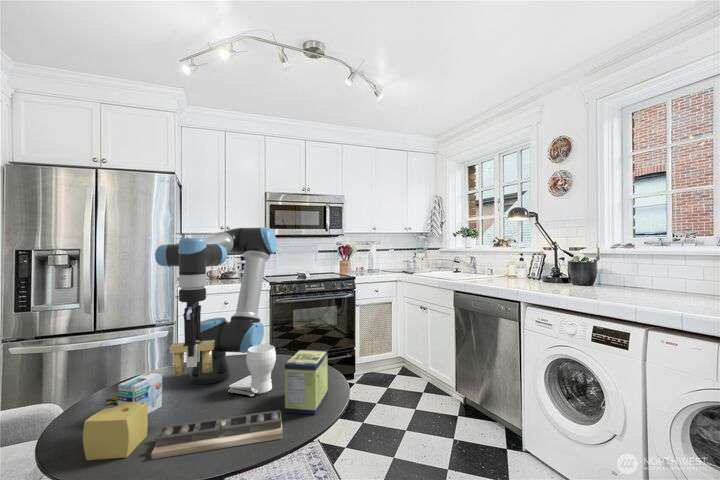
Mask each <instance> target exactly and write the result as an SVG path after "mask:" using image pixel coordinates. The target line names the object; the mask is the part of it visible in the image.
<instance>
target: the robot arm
mask: <svg viewBox="0 0 720 480" xmlns="http://www.w3.org/2000/svg"><path fill="white" fill-rule="evenodd" d="M277 247H278V246H277V237H276V235H275V232H274V231H273V229H271V228H270V227H262V226H261V227H237V228H232V229H228V230H224V231H220V232H217V233H216V234H215V235H212V236H209V237H208V236H207V237H184V238H183V237H182V238H180V239H179V241H178V243H173V244H171V243H170V244H169V243H167V244H161V245H159V246H157V248H156V249H155V251H154V257H155V258H154V259H155V262H156V263H157V265H158V266H161V267H168V268H170V267H178V277H177V278H176V281H178V287H179V288H180V289H179V290H178V302H180V303H186V305H185V308H184V312H183V314H182V315H183V323H184V326H183V327H184V329H183V330H184V332H183V333H184V342H185V343H184V342H183V343H184V344H183V346H186V352H185V354H186V356H185V357H186V361H185V362H186V363H185V364H186V368H191V370H190V373H189V382H190V383H191V384H195V385H210V384H215V383H219V382H221V381H224V380H226V379H228V378H229V377H230V376H231V367H230V363H229V361H228V358H227V354H226V353H242V354H247V351H248V349H249V348H250V347H253V346H257V345H262V343H263V339H264V334H265V330H264V329H265V327H264V324H263V323H262V322H261V318H260V316H259V315H258V314H259V308H260V307H259V306H260V300H261V294H262V288H263V281H264V275H265V269H266V262H267V261H269V260H270V259H271V254H275V253H276V251H277ZM229 253H230V254H242V255H243V257H244V258H245V262H244V265H243V266H244V267H243V272H242V278H241V282H240V288H239V294H238V299H237V304H236V310H235V313H234V314H233V315H231V317H230V321H229V322H228V321H227V319H226V317H215V318H209V319H205V320H201V316H202V315H201V310H202V305H201V304H200V303H199V302H203V301H205V300H206V299H207V288H206V286H207V273H206V272H207V268H209V267H218V266H220V265H223V264H224V263H225V262H226V261H227V259H228V254H229ZM208 340H215V347H214V349H213V350H212V371H211V372H208V373H203V372H202V351H197V344H196V341H208Z"/></svg>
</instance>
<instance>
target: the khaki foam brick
mask: <svg viewBox="0 0 720 480" xmlns="http://www.w3.org/2000/svg"><path fill="white" fill-rule="evenodd" d="M184 343H185V341H183V342H174V343H172V344H171V345H170V346H169V354H172V355H173V356H172V357H173V359H172V360H173V365H172V366H173V369H172V370H173V376H174V377H179V376H183V375H184V374H185V354H184V353H186V346H183V344H184ZM196 344H197V351H202V372H203V373H208V372H211V371H212V350H213V349H214V347H215V340H208V341H196Z"/></svg>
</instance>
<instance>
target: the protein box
mask: <svg viewBox="0 0 720 480" xmlns="http://www.w3.org/2000/svg"><path fill="white" fill-rule="evenodd" d="M328 376H329V375H328V350H318V349H316V350H314V349H313V350H312V349H299V350H298V351H297V352H296V353H295V354H294V355H293V356H292V357H291V358H290V359H288V360H287V362H285V363H284V413H289V414H303V415H304V414H305V415H314V416H315V415H317V413H318V411H319V409H320V408H321V406H322V405H323V402H324V401H325V399H326V397H327V396H328V394H329V393H328V386H329V385H328V382H329V381H328V380H329V379H328Z"/></svg>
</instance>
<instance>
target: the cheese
mask: <svg viewBox="0 0 720 480" xmlns="http://www.w3.org/2000/svg"><path fill="white" fill-rule="evenodd" d="M148 415H149V414H148V407H147V402H127V403H122V404H120V405H118V406H114V407H107V408H104V409H102V410H99V411H98V412H96V413H94V414H92V415H91V416H90V417H88V418H87V419H85V420H84V424H83V430H82V443H83V452H84V456H85V460H86V461H95V460H96V461H97V460H110V459H112V460H113V459H122V458H123V459H125V458H128V457H129V456H130V455H131V454H132V453H133V452H134V450H135V449H136V448H137V447H138V446H139V445H140V444H141V443H142V442H143V441H144V440H145V439H146V438H147V436H148V426H149V425H148V423H149V422H148V420H149V419H148V418H149V417H148Z"/></svg>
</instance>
